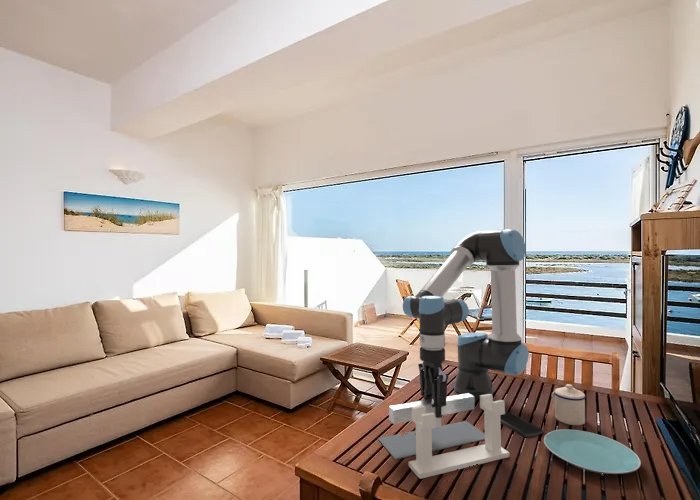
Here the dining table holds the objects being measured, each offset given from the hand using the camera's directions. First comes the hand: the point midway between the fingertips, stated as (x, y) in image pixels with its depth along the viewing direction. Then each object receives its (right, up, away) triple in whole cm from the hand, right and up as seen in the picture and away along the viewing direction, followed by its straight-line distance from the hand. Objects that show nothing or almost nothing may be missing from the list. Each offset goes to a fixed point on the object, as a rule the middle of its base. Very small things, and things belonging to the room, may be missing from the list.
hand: (433, 424), depth 113 cm
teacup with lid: (+48, -4, +12) cm, 49 cm away
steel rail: (0, +3, 0) cm, 3 cm away
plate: (+40, -4, -11) cm, 42 cm away
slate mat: (0, -4, 0) cm, 4 cm away
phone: (+29, -5, +8) cm, 31 cm away
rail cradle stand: (+4, -4, -12) cm, 14 cm away
